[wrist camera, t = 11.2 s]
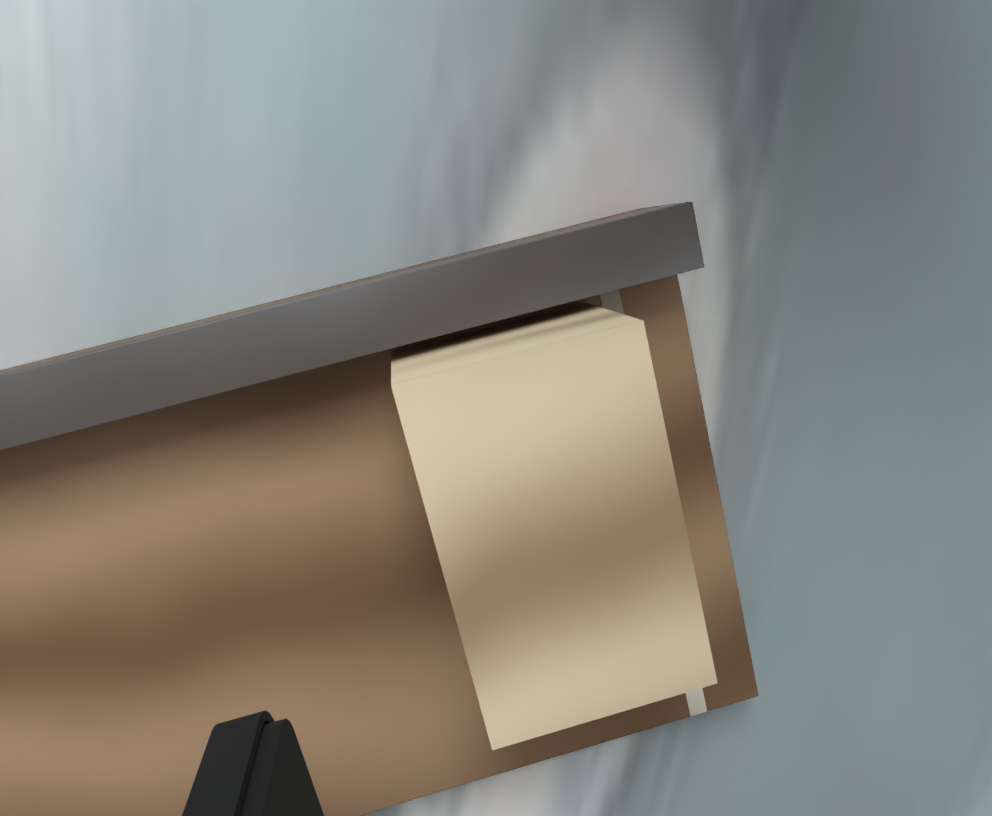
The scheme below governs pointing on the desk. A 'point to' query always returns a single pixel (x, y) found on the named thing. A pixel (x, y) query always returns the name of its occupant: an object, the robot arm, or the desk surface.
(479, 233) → the desk surface
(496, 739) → the block
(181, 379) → the walnut board
